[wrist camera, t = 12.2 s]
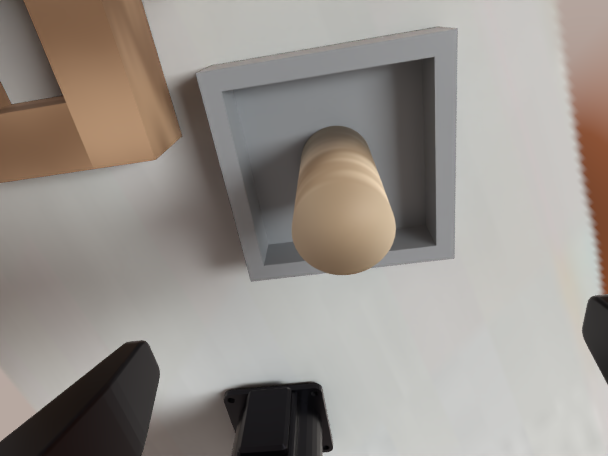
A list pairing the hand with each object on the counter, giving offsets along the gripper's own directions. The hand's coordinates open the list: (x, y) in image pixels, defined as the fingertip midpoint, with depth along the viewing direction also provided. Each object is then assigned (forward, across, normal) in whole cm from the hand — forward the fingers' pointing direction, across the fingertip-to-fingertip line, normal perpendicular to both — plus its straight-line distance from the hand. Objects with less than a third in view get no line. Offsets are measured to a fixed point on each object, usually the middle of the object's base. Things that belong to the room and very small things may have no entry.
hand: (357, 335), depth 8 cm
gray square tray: (+12, 0, 0) cm, 12 cm away
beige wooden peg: (+12, 0, 0) cm, 12 cm away
